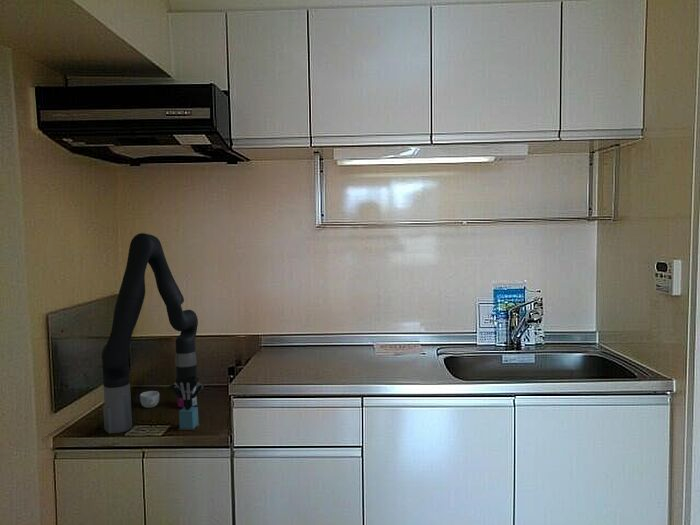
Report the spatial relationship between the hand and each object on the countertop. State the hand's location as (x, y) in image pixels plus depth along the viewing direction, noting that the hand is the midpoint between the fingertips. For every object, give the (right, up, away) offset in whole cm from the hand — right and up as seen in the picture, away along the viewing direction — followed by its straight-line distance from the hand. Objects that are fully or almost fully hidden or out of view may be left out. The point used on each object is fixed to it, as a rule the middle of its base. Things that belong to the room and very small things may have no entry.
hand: (188, 408), depth 218 cm
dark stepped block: (0, -7, +1) cm, 7 cm away
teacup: (-23, -6, +26) cm, 35 cm away
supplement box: (-7, -6, +25) cm, 27 cm away
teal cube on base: (0, -7, +1) cm, 7 cm away
